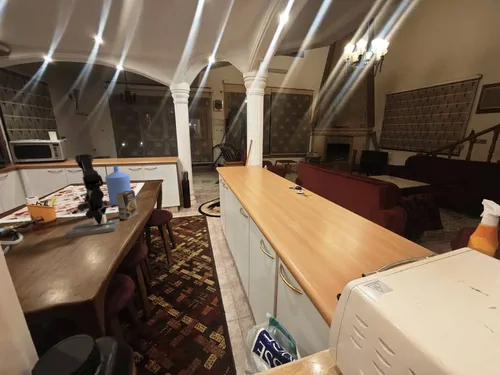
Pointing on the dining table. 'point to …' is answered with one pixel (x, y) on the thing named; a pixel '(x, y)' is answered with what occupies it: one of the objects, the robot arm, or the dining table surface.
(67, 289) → the dining table surface
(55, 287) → the dining table surface
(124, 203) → the coffee box
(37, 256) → the dining table surface
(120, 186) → the water jug
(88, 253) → the dining table surface
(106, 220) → the fader knob
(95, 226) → the console board
